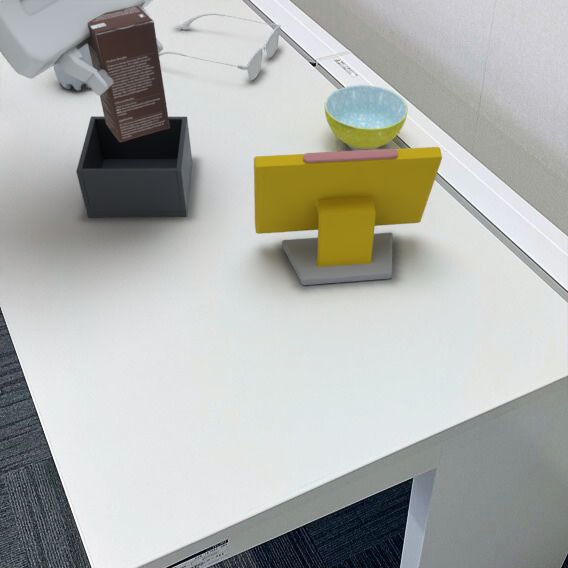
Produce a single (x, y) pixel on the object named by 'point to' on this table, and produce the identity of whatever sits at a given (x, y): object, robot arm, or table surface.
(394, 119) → the bowl
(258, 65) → the eyeglasses
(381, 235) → the toy computer monitor
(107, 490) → the table surface
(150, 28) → the box
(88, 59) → the bottle
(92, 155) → the bin
